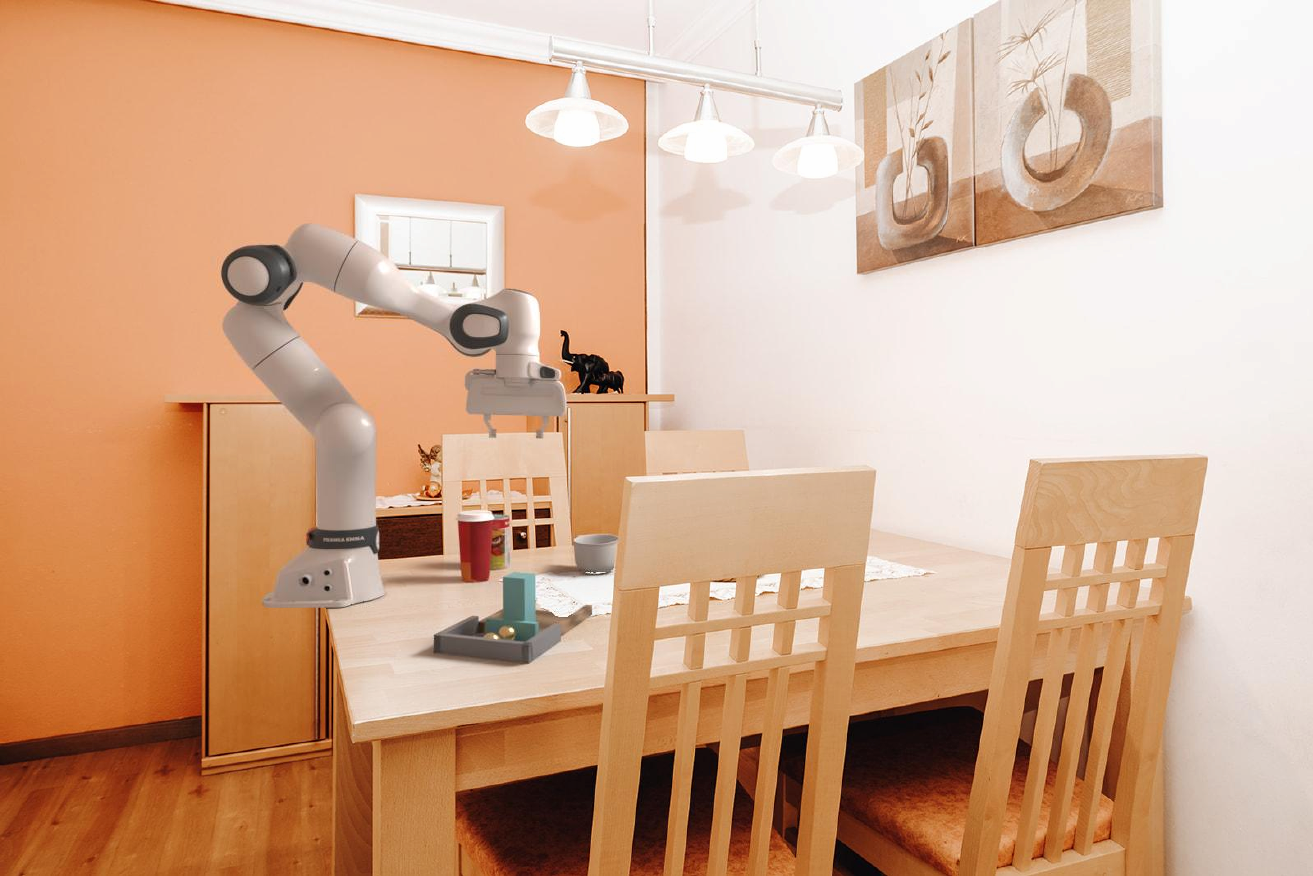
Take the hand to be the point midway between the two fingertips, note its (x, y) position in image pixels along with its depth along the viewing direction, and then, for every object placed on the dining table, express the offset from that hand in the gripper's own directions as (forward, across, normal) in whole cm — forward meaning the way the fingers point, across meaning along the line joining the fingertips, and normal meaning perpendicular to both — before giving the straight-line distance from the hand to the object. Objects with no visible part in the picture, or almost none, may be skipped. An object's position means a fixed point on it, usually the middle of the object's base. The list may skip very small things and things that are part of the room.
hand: (516, 438), depth 158 cm
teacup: (+32, +19, +18) cm, 41 cm away
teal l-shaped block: (+32, 0, -30) cm, 44 cm away
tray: (+32, -3, -36) cm, 48 cm away
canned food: (+32, -4, +27) cm, 42 cm away
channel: (+32, +4, -24) cm, 40 cm away
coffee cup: (+32, -8, +14) cm, 36 cm away
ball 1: (+31, -4, -37) cm, 49 cm away
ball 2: (+32, -2, -34) cm, 46 cm away
